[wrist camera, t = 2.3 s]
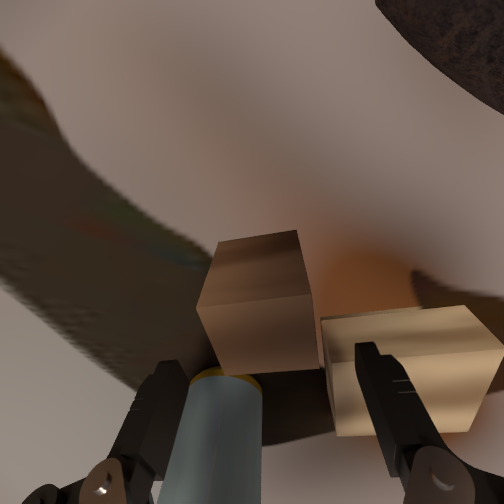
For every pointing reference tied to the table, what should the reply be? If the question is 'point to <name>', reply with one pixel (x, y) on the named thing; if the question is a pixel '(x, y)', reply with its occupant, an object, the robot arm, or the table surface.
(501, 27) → the perforated stone tool
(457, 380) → the plinth
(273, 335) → the walnut block
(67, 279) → the table surface
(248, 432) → the bottle
